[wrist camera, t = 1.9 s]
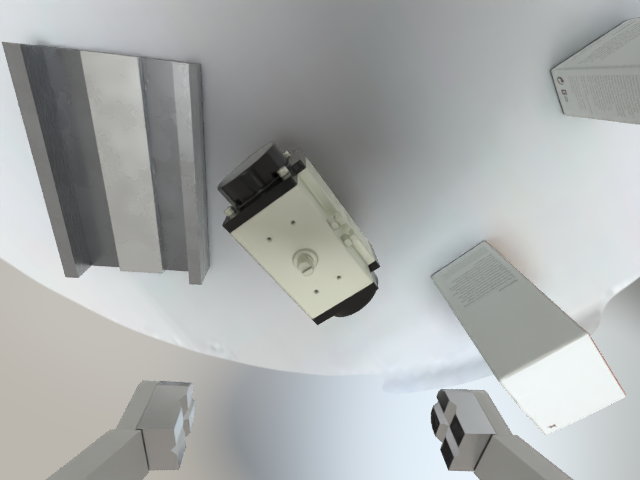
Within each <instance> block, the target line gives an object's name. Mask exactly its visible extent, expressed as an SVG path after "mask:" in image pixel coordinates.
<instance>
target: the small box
mask: <svg viewBox="0 0 640 480" xmlns="http://www.w3.org/2000/svg"><path fill="white" fill-rule="evenodd" d="M431 278H432V280H433V281H434V283H435V284H436V286H437V287H438V289H439V290H440V292H441V293H442V295H443V296H444V298H445V299H446V301H447V303H448V304H449V306H450V307H451V309H452V310H453V312H454V313H455V315H456V317H457V318H458V320H459V321H460V323H461V324H462V326H463V327H464V329H465V330H466V332H467V334H468V335H469V337H470V338H471V340H472V341H473V343H474V344H475V346H476V347H477V349H478V350H479V352H480V353H481V355H482V357H483V358H484V360H485V361H486V363H487V364H488V366H489V367H490V369H491V371H492V372H493V374H494V375H495V377H496V378H497V380H498V381H499V382H500V384H501V385H502V386H503V387H504V389H505V390H506V391H507V392H508V393H509V395H510V396H511V397H512V398H513V400H514V401H515V402H516V403H517V405H518V406H519V407H520V408H521V410H522V411H523V412H524V413H525V414H526V416H527V417H529V418H530V419H531V420H532V421H533V422H534V423H535V425H536V426H537V427H538V428H539V429H540V430H541V431H542V432H543V433H544V434H545V435H546V434H549V433H552V432H554V431H557V430H559V429H561V428H563V427H565V426H567V425H570V424H572V423H574V422H576V421H578V420H580V419H582V418H584V417H586V416H589V415H590V414H593V413H594V412H596V411H598V410H600V409H602V408H604V407H606V406H609V405H610V404H612V403H614V402H616V401H618V400H620V399H622V398H624V397H626V394H625V392H624V391H623V389H622V387H621V386H620V384H619V383H618V381H617V379H616V378H615V376H614V374H613V373H612V371H611V369H610V368H609V366H608V364H607V363H606V361H605V359H604V358H603V356H602V354H601V353H600V351H599V350H598V348H597V346H596V345H595V343H594V342H593V340H592V338H591V337H590V335H589V333H588V332H586V331H585V330H584V329H583V328H581V327H580V326H579V325H578V324H577V323H576V322H575V321H574V320H573V319H571V318H570V317H569V316H568V315H567V314H566V313H565V312H564V311H563V310H561V309H560V308H559V307H558V306H557V305H556V304H555V303H554V302H553V301H551V300H550V299H549V298H548V297H547V296H546V295H545V294H544V293H543V292H541V291H540V290H539V289H538V288H537V287H536V286H535V285H534V284H533V283H531V282H530V281H529V280H528V279H527V278H526V277H525V276H524V275H523V274H522V273H520V272H519V271H518V270H517V269H516V268H515V267H514V266H513V265H512V264H510V263H509V262H508V261H507V260H506V259H505V258H504V257H503V256H502V255H501V254H500V253H498V252H497V251H496V250H495V249H494V248H493V247H492V246H491V245H490V244H489V243H487V242H486V241H483V242H481V243H480V244H479V245H477V246H476V247H474V248H473V249H471V250H470V251H468V252H467V253H465V254H464V255H462V256H461V257H459V258H458V259H456V260H455V261H453V262H452V263H450V264H449V265H447V266H446V267H444V268H443V269H441V270H440V271H438V272H437V273H435V274H434V275H433V276H432V277H431Z"/></svg>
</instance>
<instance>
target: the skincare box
mask: <svg viewBox="0 0 640 480" xmlns="http://www.w3.org/2000/svg"><path fill="white" fill-rule="evenodd" d="M551 72H552V75H553V79H554V83H555V87H556V90H557V93H558V96H559V99H560V103H561V105H562V108H563V111H564V114H566V115H568V116H575V117H584V118H591V119H599V120H608V121H616V122H623V123H631V124H640V17H639V18H634V19H629V20H626V21H625V22H623V23H622V24H620V25H619V26H617V27H616V28H614V29H613V30H611V31H610V32H608V33H607V34H605V35H604V36H602V37H600V38H599V39H597V40H596V41H594V42H593V43H591V44H590V45H588V46H587V47H585V48H584V49H582V50H581V51H579V52H578V53H576V54H575V55H573V56H572V57H570V58H569V59H567V60H565V61H564V62H562V63H561V64H559V65H558V66H556V67H555V68H553V69H552V71H551Z"/></svg>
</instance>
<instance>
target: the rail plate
mask: <svg viewBox="0 0 640 480" xmlns="http://www.w3.org/2000/svg"><path fill="white" fill-rule="evenodd" d="M2 45H3V48H4V52H5V56H6V59H7V63H8V67H9V70H10V74H11V78H12V81H13V85H14V89H15V92H16V96H17V100H18V103H19V107H20V111H21V115H22V118H23V122H24V126H25V129H26V133H27V137H28V140H29V144H30V148H31V151H32V155H33V159H34V162H35V166H36V170H37V174H38V177H39V181H40V185H41V188H42V192H43V196H44V199H45V203H46V207H47V210H48V214H49V218H50V221H51V225H52V229H53V233H54V236H55V240H56V244H57V247H58V251H59V255H60V258H61V262H62V266H63V269H64V273H65V277H72V278H79V277H80V276H81V275H82V274H83V273H84V272H85V271H86V270H87V269H88V268H89V267H90V266H91V265H93V266H110V267H120V271H131V272H148V273H163V272H164V271H165V270H177V271H189V284H197V285H202V282H203V280H204V278H205V276H206V274H207V271H208V269H209V267H210V263H209V241H208V218H207V196H206V174H205V152H204V130H203V108H202V85H201V64H193V63H184V62H176V61H167V60H159V59H150V58H142V57H133V56H125V55H116V54H108V53H99V52H91V51H82V50H74V49H65V48H57V47H48V46H40V45H30V44H19V43H9V42H2Z"/></svg>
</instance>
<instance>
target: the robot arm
mask: <svg viewBox="0 0 640 480" xmlns="http://www.w3.org/2000/svg"><path fill="white" fill-rule="evenodd" d="M193 392H194V387H193V383H185V382H167V381H142V382H141V383H140V384H139V385H138V387H137V389H136V391H135V393H134V395H133V397H132V399H131V401H130V402H129V404H128V406H127V408H126V410H125V412H124V414H123V416H122V418H121V420H120V422H119V424H118V426H117V428H116V429H115V430H109V431H108V432H106V433H105V434H104V435H103V436H101V437H100V438H99V439H98V440H96V441H95V442H94V443H92V444H91V445H90V446H89V447H87V448H86V449H85V450H83V451H82V452H81V453H80V454H78V455H77V456H76V457H74V458H73V459H72V460H71V461H69V462H68V463H67V464H66V465H64V466H63V467H62V468H60V469H59V470H58V471H57V472H55V473H54V474H53V475H52V476H50V477H49V478H48V479H46V480H142V479H143V478H144V477H145V476H146V475H147V474H148V472H149V471H148V470H179V468H180V465H181V461H182V458H183V455H184V452H185V448H186V443H185V437H186V436H187V435H188V434H189V433H190V432H191V428H192V424H193V420H194V415H195V400H194V399H193V398H192V395H193ZM437 399H438V403H436V404H435V405H434V406H433V408H432V411H431V424H432V429H433V431H434V434H435V436H436V437H437V438H438V439H439V440H440V441H441V442H442V445H441V449H440V450H441V453H442V455H443V458H444V460H445V463H446V465H447V468H448V470H450V471H474V474H475V475H476V476H477V477H478V478H479V479H480V480H573V479H572V478H571V477H569V476H568V475H567V474H566V473H564V472H563V471H562V470H561V469H559V468H558V467H557V466H555V465H554V464H553V463H552V462H550V461H549V460H548V459H547V458H545V457H544V456H543V455H542V454H540V453H539V452H538V451H536V450H535V449H534V448H532V447H531V446H530V445H529V444H528V443H526V442H525V441H524V440H522V439H521V438H520V437H519V436H517V435H513V434H512V433H511V431H510V429H509V428H508V426H507V425H506V423H505V421H504V420H503V418H502V417H501V415H500V413H499V411H498V410H497V408H496V406H495V405H494V403H493V401H492V400H491V398H490V396H489V395H488V393H487V392H486V391H484V390H466V389H462V390H461V389H459V390H458V389H441V390H440V391H439V392H438V394H437Z"/></svg>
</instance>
